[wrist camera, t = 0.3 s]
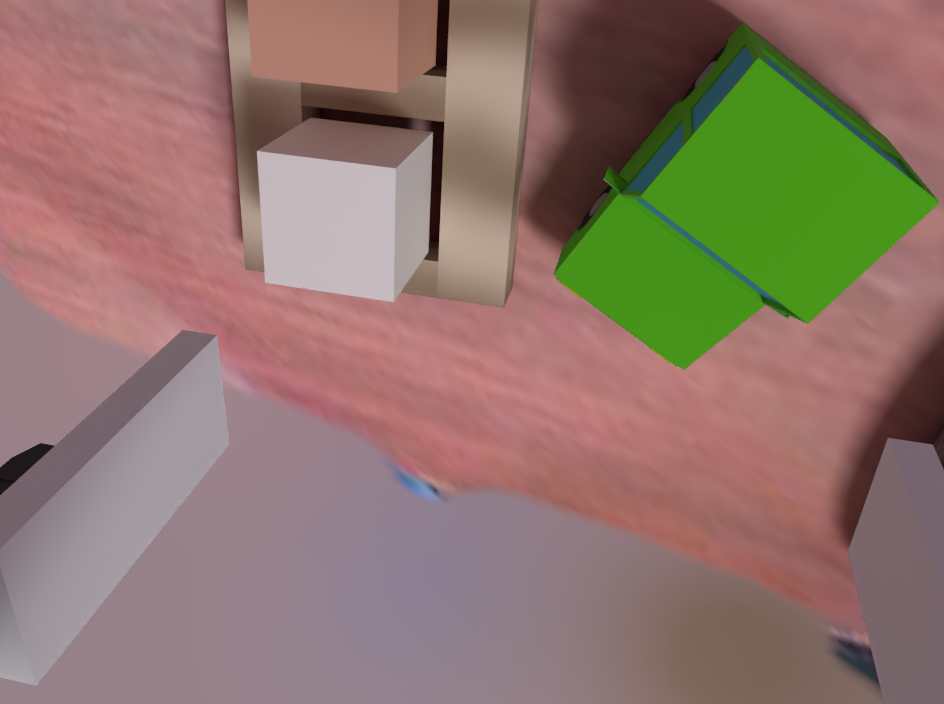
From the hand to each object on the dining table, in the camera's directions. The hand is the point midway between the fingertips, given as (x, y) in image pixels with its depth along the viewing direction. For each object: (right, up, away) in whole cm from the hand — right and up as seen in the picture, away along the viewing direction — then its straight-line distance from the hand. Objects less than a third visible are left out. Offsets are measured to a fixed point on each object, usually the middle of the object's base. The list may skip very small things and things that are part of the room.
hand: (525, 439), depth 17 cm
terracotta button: (-5, +18, +20) cm, 27 cm away
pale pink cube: (-6, +10, +25) cm, 27 cm away
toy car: (+10, +10, +24) cm, 28 cm away
